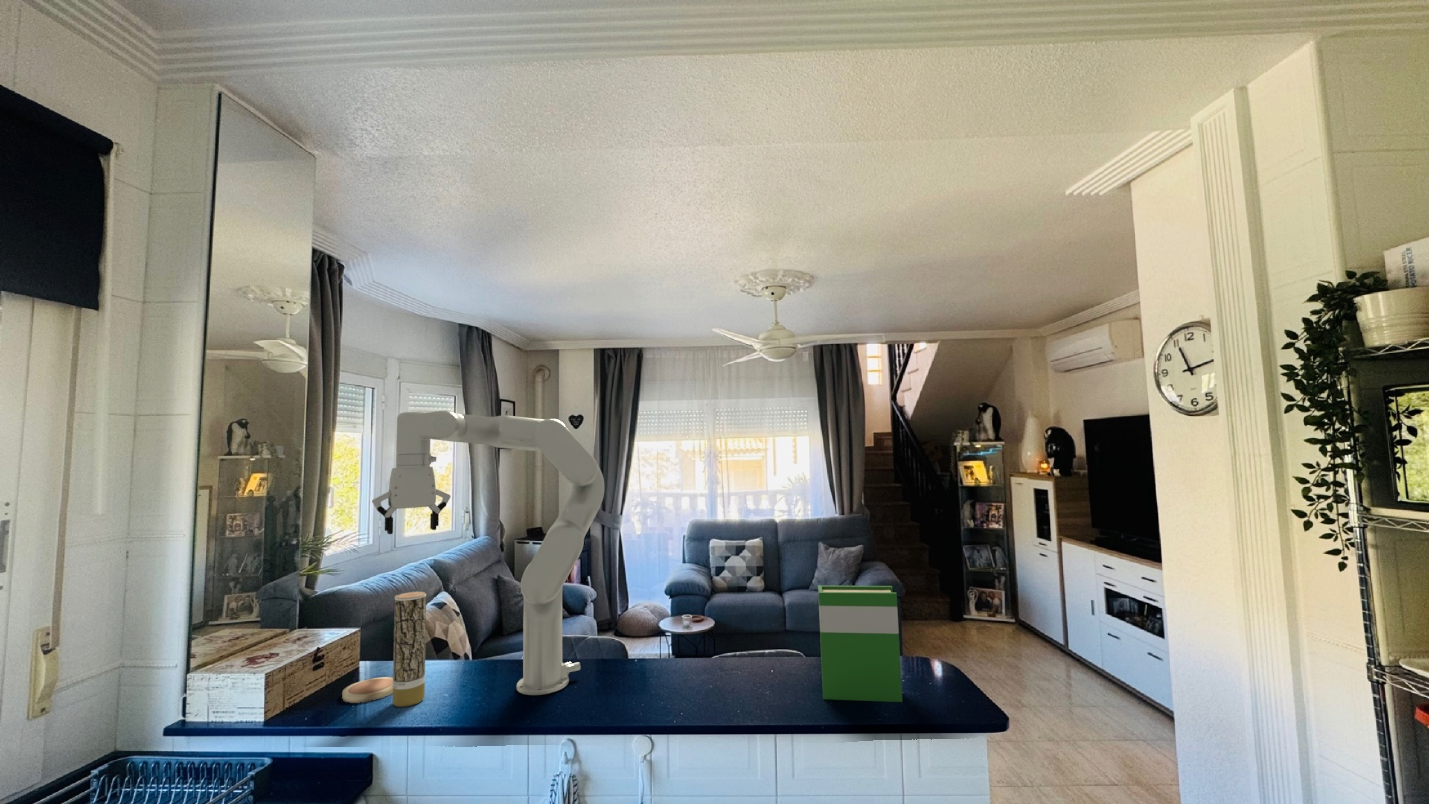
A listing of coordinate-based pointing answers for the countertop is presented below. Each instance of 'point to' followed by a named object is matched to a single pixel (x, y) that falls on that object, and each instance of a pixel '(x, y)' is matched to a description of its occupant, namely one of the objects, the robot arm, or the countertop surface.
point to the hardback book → (860, 643)
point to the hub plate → (368, 690)
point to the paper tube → (409, 648)
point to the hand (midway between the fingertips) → (412, 531)
